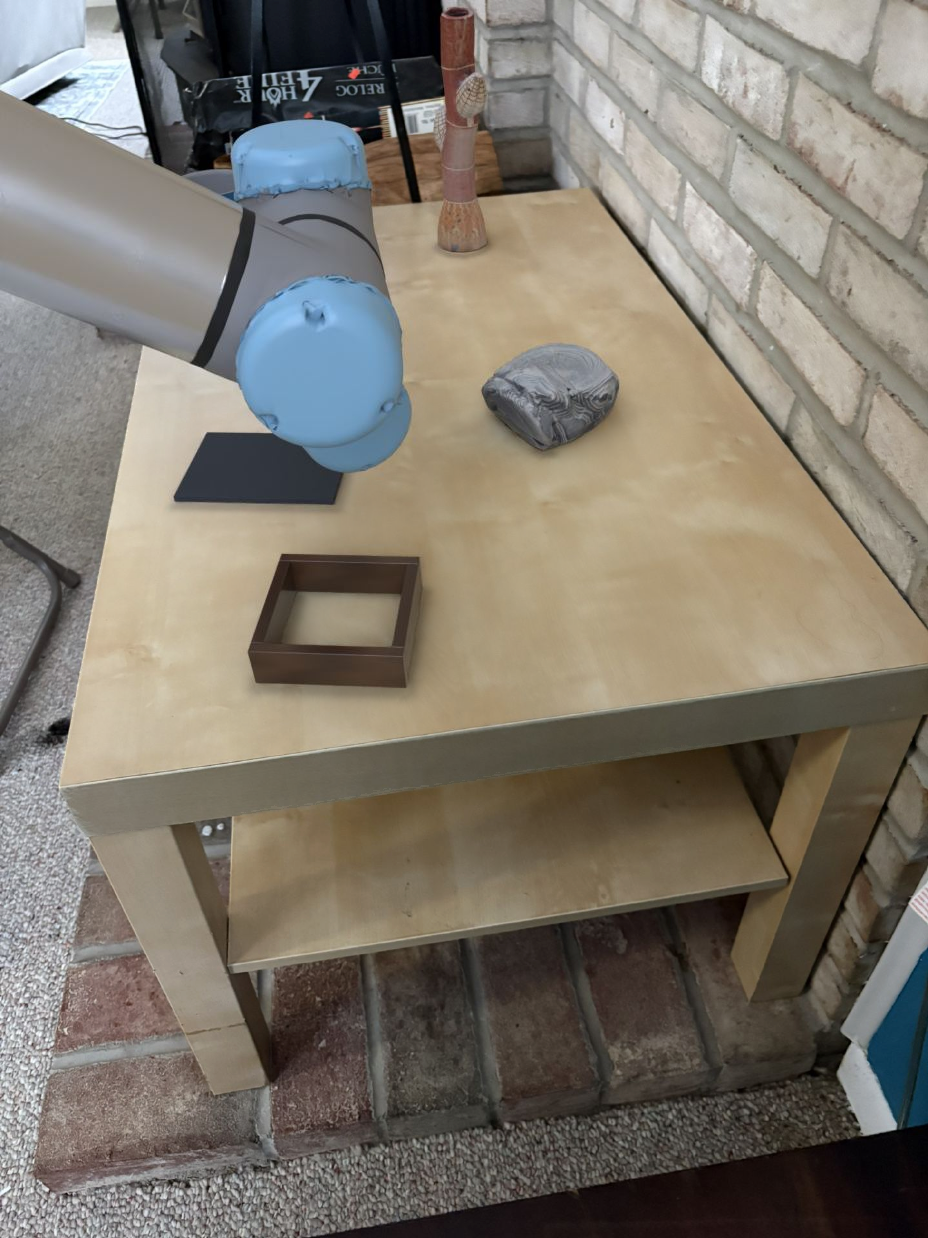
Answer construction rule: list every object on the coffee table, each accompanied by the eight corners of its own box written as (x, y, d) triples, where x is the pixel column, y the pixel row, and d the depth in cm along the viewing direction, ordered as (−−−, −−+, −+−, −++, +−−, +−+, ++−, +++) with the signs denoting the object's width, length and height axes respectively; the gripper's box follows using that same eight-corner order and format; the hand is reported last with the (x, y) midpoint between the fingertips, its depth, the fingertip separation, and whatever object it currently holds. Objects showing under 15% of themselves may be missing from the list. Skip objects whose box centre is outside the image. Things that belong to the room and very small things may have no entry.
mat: (174, 501, 91) (173, 496, 91) (207, 436, 100) (206, 431, 99) (333, 504, 90) (333, 499, 89) (353, 438, 99) (352, 433, 98)
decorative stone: (617, 359, 103) (610, 293, 94) (627, 460, 97) (620, 400, 88) (490, 379, 106) (471, 316, 97) (491, 478, 100) (472, 421, 91)
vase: (433, 235, 141) (421, 2, 120) (479, 230, 142) (476, -2, 121) (447, 261, 133) (437, 17, 113) (496, 255, 134) (495, 13, 114)
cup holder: (255, 683, 73) (247, 651, 70) (287, 583, 81) (281, 553, 79) (406, 688, 72) (403, 656, 69) (422, 587, 80) (419, 556, 78)
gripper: (171, 409, 67) (114, 293, 82) (410, 349, 73) (315, 251, 88) (143, 310, 62) (88, 206, 77) (402, 254, 67) (303, 168, 83)
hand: (209, 230), depth 83 cm, fingers closed on cup, 6 cm apart
